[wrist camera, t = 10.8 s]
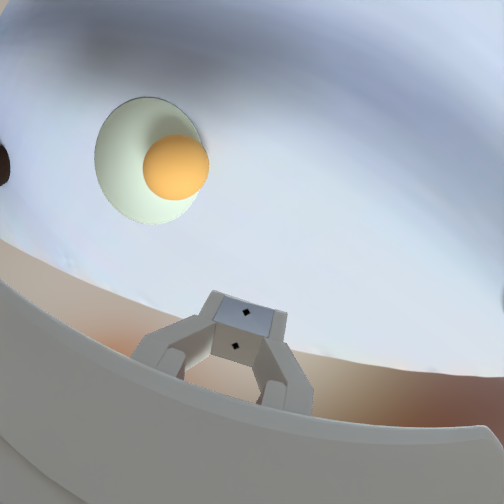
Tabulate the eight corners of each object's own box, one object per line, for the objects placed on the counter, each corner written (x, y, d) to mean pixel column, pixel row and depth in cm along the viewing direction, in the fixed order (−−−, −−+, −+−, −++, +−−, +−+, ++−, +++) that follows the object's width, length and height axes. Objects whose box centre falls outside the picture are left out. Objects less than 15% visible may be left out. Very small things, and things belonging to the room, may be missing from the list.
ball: (177, 201, 18) (216, 205, 24) (190, 124, 18) (225, 143, 23) (124, 196, 20) (166, 199, 25) (135, 129, 19) (174, 143, 25)
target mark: (82, 178, 27) (81, 178, 27) (129, 75, 21) (128, 75, 20) (163, 247, 29) (162, 248, 29) (232, 147, 23) (231, 148, 22)
